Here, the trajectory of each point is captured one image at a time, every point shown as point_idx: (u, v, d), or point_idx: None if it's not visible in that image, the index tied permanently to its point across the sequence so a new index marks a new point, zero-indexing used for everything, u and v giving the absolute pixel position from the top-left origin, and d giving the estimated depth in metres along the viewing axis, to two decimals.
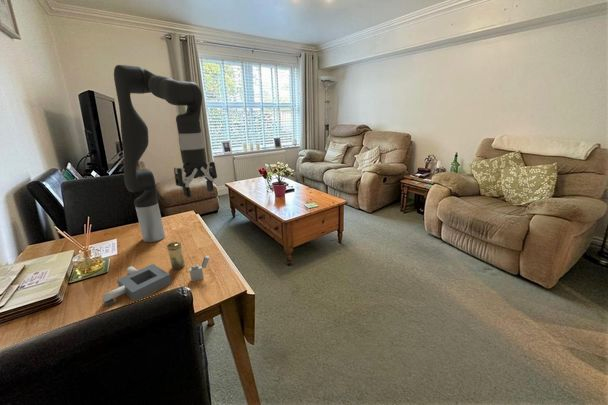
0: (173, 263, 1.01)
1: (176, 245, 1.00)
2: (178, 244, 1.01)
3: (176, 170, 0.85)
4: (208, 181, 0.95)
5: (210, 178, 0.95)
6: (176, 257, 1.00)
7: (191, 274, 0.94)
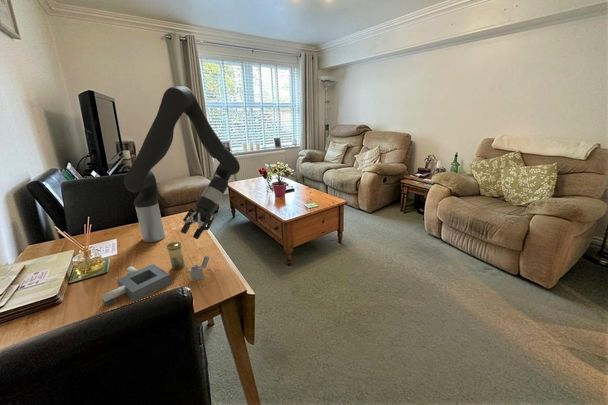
0: (173, 263, 1.01)
1: (176, 245, 1.00)
2: (178, 244, 1.01)
3: (212, 217, 1.04)
4: (188, 225, 1.09)
5: None
6: (176, 257, 1.00)
7: (191, 274, 0.94)
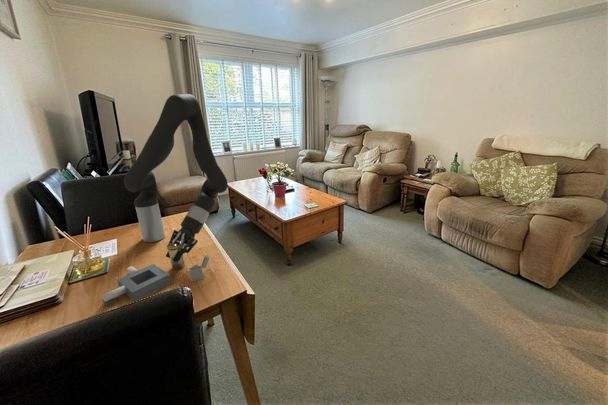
0: (173, 264, 1.01)
1: (176, 245, 1.00)
2: (178, 244, 1.01)
3: (195, 241, 1.00)
4: None
5: None
6: None
7: (191, 274, 0.94)
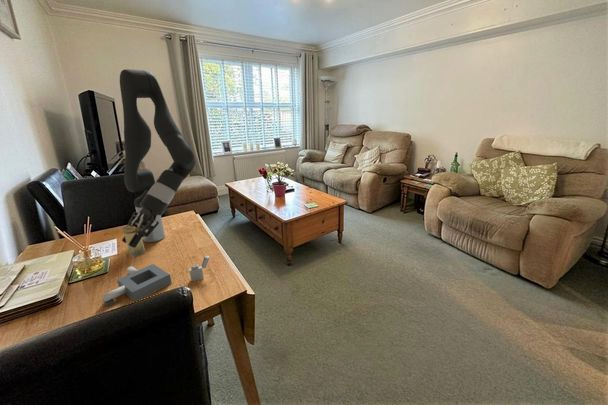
0: (130, 249, 0.86)
1: (133, 227, 0.85)
2: (136, 226, 0.86)
3: (155, 223, 0.85)
4: None
5: None
6: None
7: (191, 274, 0.94)
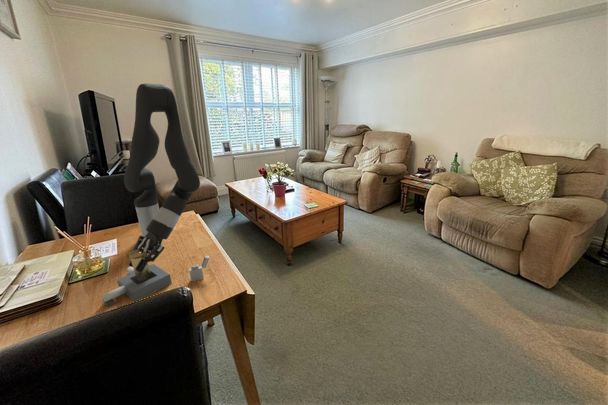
0: (137, 274, 0.89)
1: (140, 253, 0.88)
2: (142, 251, 0.89)
3: (161, 248, 0.88)
4: None
5: None
6: None
7: (191, 274, 0.94)
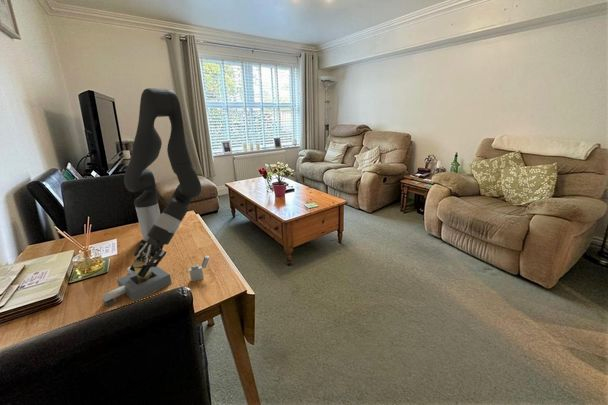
0: (140, 283, 0.90)
1: (143, 262, 0.89)
2: None
3: (163, 253, 0.89)
4: None
5: None
6: None
7: (191, 274, 0.94)
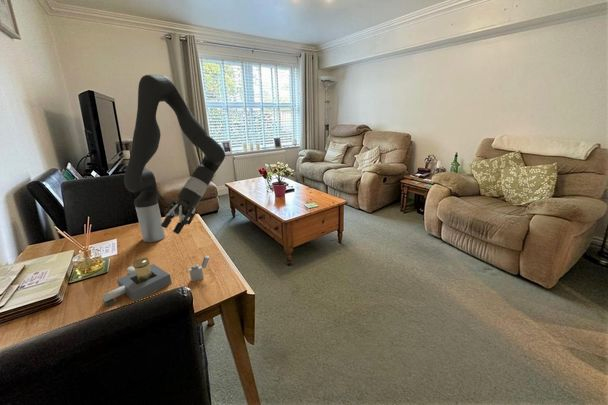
0: (140, 283, 0.90)
1: (143, 262, 0.89)
2: (146, 261, 0.90)
3: (194, 210, 0.96)
4: (169, 218, 1.00)
5: None
6: (142, 275, 0.89)
7: (191, 274, 0.94)
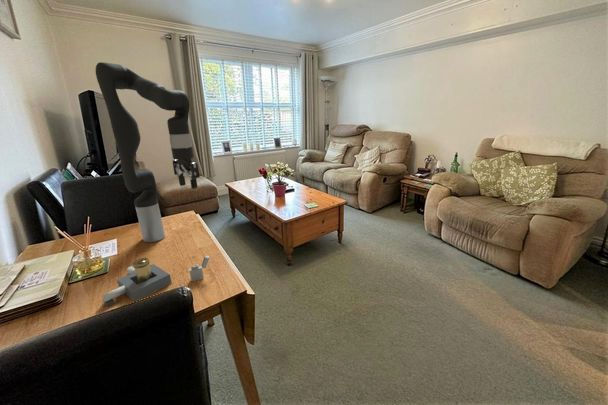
0: (140, 283, 0.90)
1: (143, 262, 0.89)
2: (145, 261, 0.90)
3: (195, 164, 1.01)
4: (182, 176, 1.09)
5: None
6: (142, 275, 0.89)
7: (191, 274, 0.94)
